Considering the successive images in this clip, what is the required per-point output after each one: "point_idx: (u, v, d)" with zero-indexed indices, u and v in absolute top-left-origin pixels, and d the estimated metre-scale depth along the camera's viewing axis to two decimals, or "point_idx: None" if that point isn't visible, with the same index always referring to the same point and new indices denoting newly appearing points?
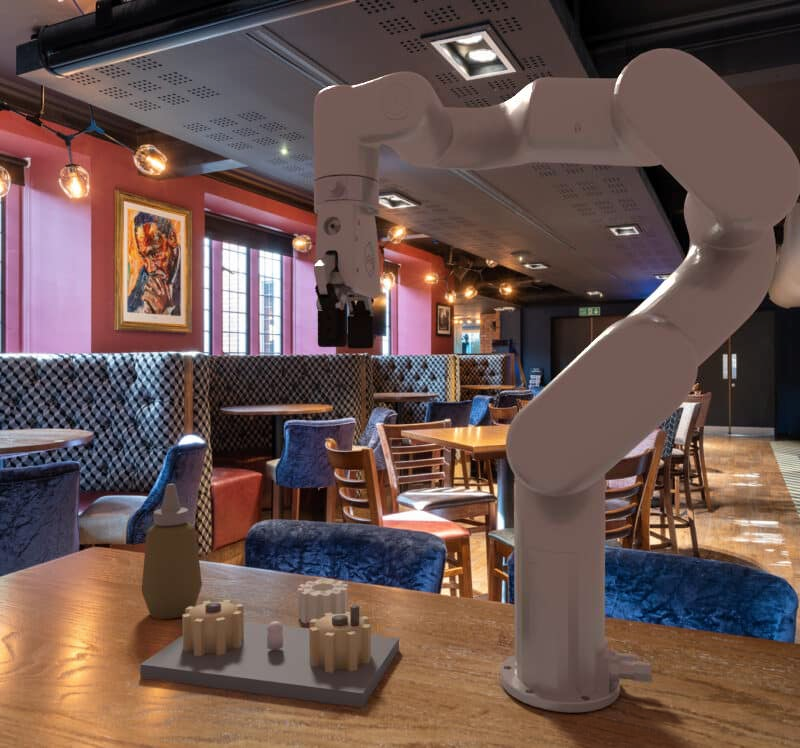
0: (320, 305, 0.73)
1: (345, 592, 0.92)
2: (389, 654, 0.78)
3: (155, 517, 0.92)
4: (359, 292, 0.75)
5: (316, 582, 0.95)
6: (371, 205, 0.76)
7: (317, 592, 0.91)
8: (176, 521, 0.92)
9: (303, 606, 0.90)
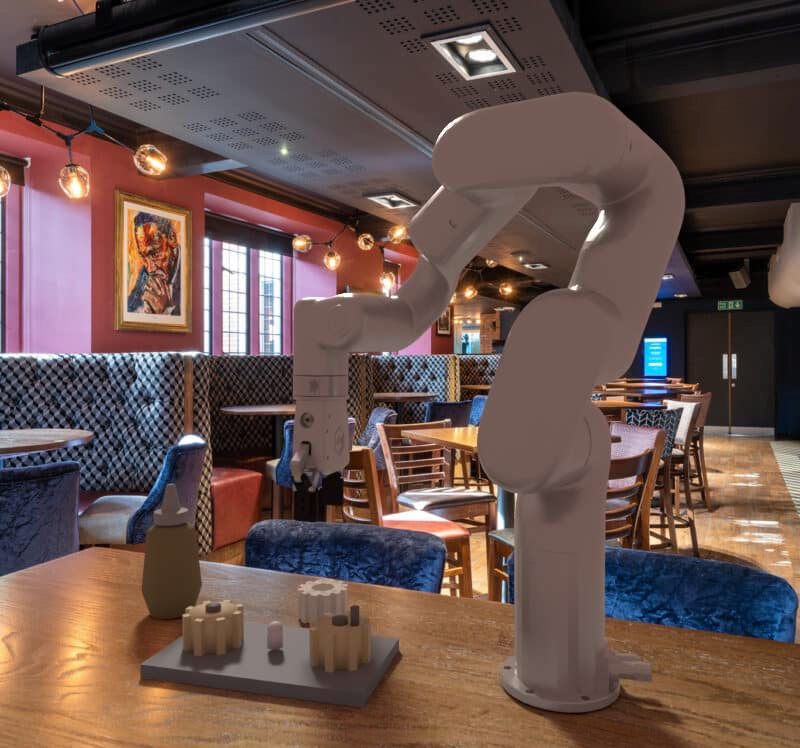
0: (296, 488, 0.87)
1: (345, 592, 0.92)
2: (389, 654, 0.78)
3: (155, 517, 0.92)
4: (329, 473, 0.89)
5: (316, 582, 0.95)
6: (340, 398, 0.90)
7: (317, 592, 0.91)
8: (176, 521, 0.92)
9: (303, 606, 0.90)
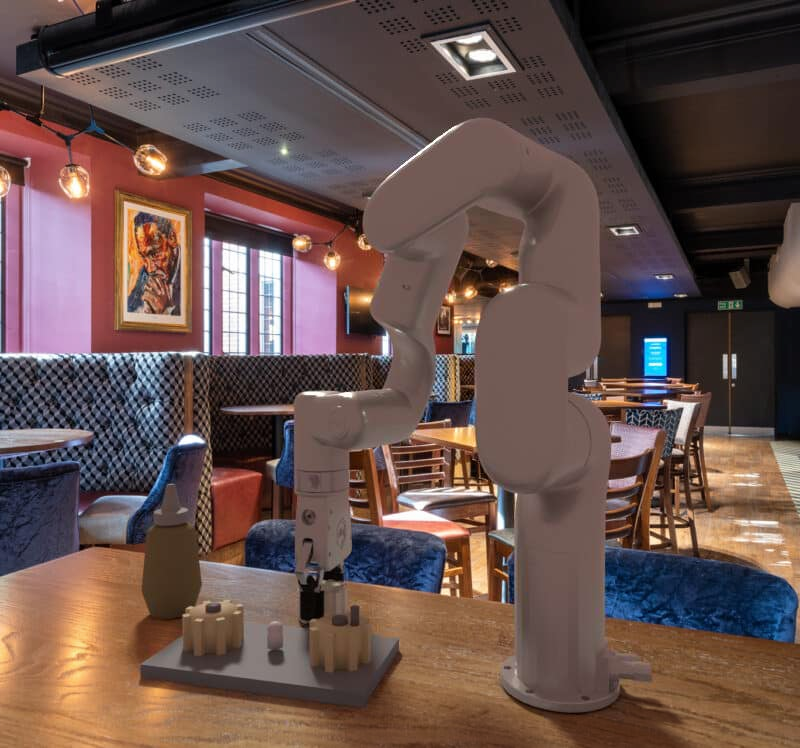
0: (302, 589, 0.88)
1: (345, 592, 0.92)
2: (389, 654, 0.78)
3: (155, 517, 0.92)
4: (332, 569, 0.89)
5: None
6: (342, 492, 0.90)
7: None
8: (176, 521, 0.92)
9: None
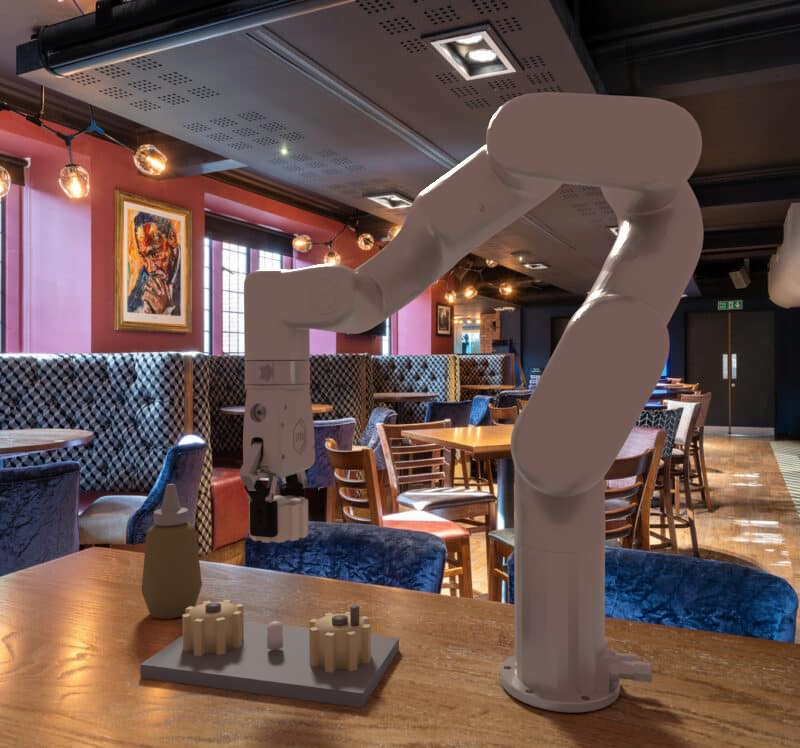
0: (251, 498, 0.74)
1: (304, 506, 0.78)
2: (389, 654, 0.78)
3: (155, 517, 0.92)
4: (286, 475, 0.75)
5: None
6: (299, 386, 0.76)
7: None
8: (176, 521, 0.92)
9: None
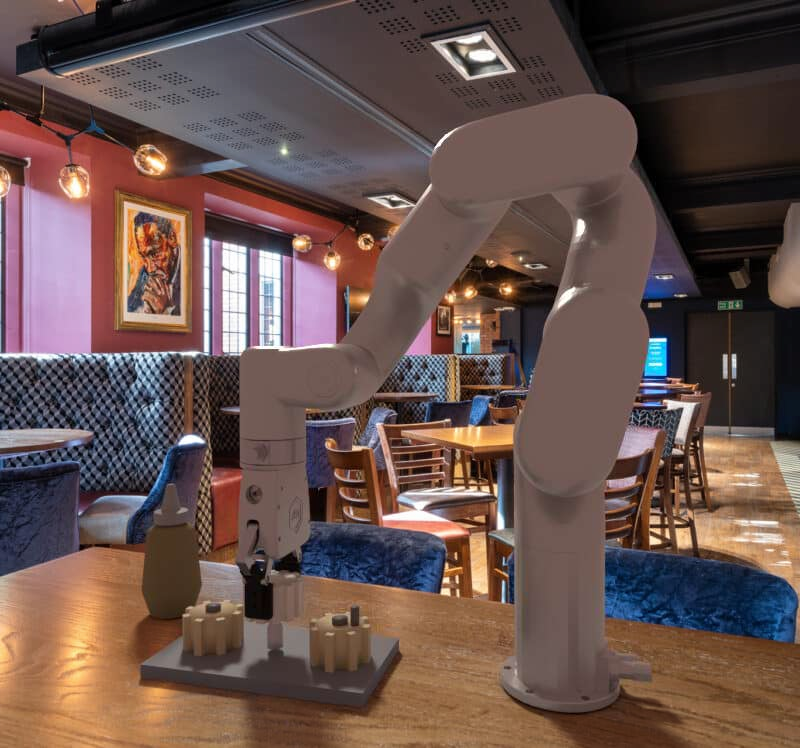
0: (246, 581, 0.73)
1: (299, 585, 0.77)
2: (389, 654, 0.78)
3: (155, 517, 0.92)
4: (282, 557, 0.74)
5: None
6: (295, 465, 0.75)
7: None
8: (176, 521, 0.92)
9: None
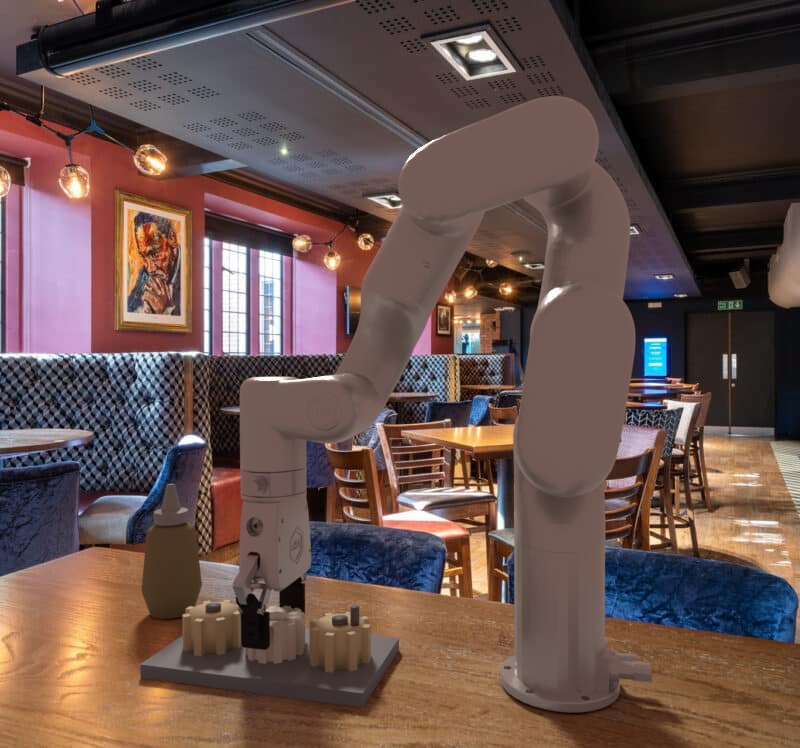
0: (242, 610, 0.72)
1: (301, 623, 0.77)
2: (389, 654, 0.78)
3: (155, 517, 0.92)
4: (283, 589, 0.74)
5: (268, 610, 0.80)
6: (296, 497, 0.76)
7: None
8: (176, 521, 0.92)
9: None
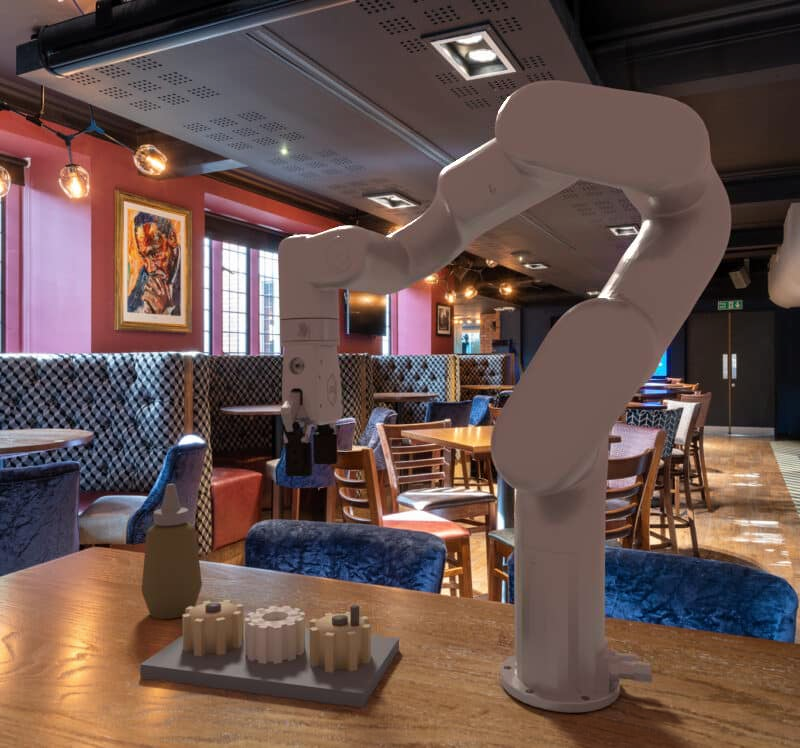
0: (287, 440, 0.80)
1: (301, 623, 0.77)
2: (389, 654, 0.78)
3: (155, 517, 0.92)
4: (323, 423, 0.82)
5: (268, 610, 0.80)
6: (332, 343, 0.83)
7: (267, 623, 0.76)
8: (176, 521, 0.92)
9: (250, 640, 0.76)
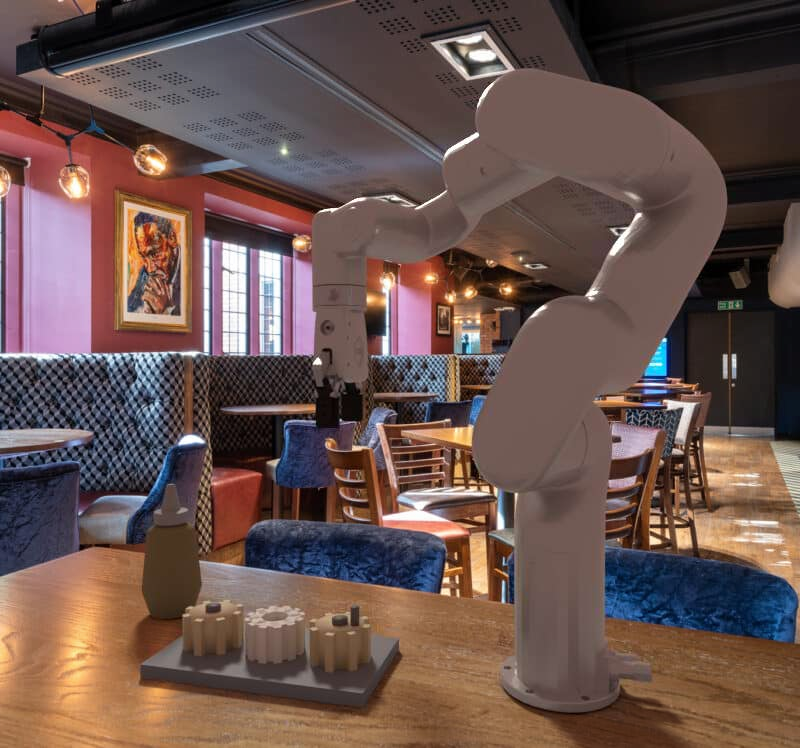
0: (318, 394, 0.88)
1: (301, 623, 0.77)
2: (389, 654, 0.78)
3: (155, 517, 0.92)
4: (350, 381, 0.90)
5: (268, 610, 0.80)
6: (360, 308, 0.91)
7: (267, 623, 0.76)
8: (176, 521, 0.92)
9: (250, 640, 0.76)
